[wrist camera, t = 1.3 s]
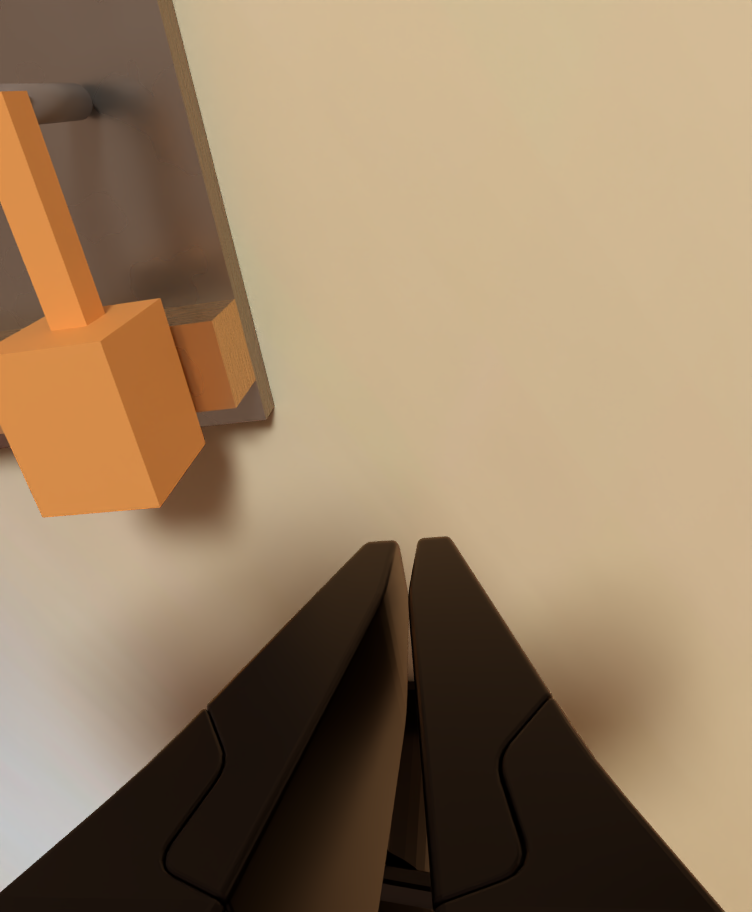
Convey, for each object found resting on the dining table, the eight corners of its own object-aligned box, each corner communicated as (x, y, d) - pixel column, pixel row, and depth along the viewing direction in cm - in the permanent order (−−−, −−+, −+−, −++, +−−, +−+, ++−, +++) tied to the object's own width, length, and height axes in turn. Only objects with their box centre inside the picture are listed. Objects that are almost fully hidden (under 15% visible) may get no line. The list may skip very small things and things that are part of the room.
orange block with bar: (226, 413, 20) (160, 507, 16) (132, 424, 21) (42, 517, 16) (127, 71, 16) (1, 67, 12) (14, 95, 17) (-148, 99, 12)
